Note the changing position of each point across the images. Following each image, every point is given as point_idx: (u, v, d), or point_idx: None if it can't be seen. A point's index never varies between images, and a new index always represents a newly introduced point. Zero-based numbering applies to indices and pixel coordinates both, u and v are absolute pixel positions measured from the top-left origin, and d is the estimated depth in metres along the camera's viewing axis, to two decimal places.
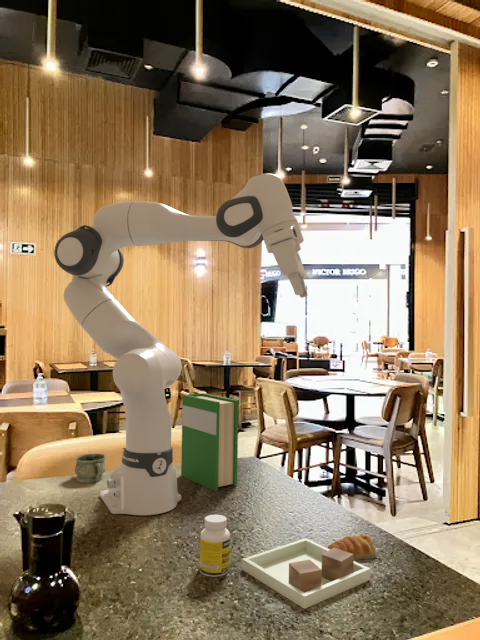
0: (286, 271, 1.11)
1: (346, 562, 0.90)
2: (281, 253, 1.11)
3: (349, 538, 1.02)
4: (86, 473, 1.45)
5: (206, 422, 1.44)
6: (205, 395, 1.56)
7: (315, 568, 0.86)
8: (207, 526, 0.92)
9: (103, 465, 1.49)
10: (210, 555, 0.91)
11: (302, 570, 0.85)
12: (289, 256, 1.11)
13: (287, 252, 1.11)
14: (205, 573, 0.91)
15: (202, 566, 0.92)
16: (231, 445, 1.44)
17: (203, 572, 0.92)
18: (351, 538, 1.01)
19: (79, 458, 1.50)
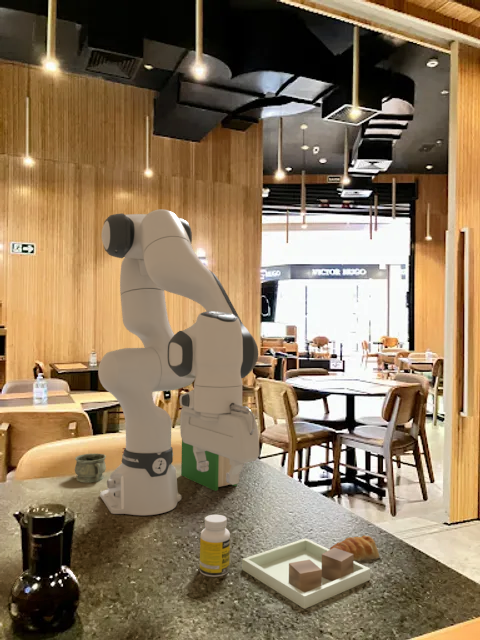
0: None
1: (346, 562, 0.90)
2: None
3: (351, 539, 1.01)
4: (86, 473, 1.45)
5: None
6: None
7: (315, 568, 0.86)
8: (207, 526, 0.92)
9: (103, 465, 1.49)
10: (210, 555, 0.91)
11: (302, 570, 0.85)
12: None
13: None
14: (205, 573, 0.91)
15: (202, 566, 0.92)
16: None
17: (203, 572, 0.92)
18: (353, 539, 1.01)
19: (79, 458, 1.50)
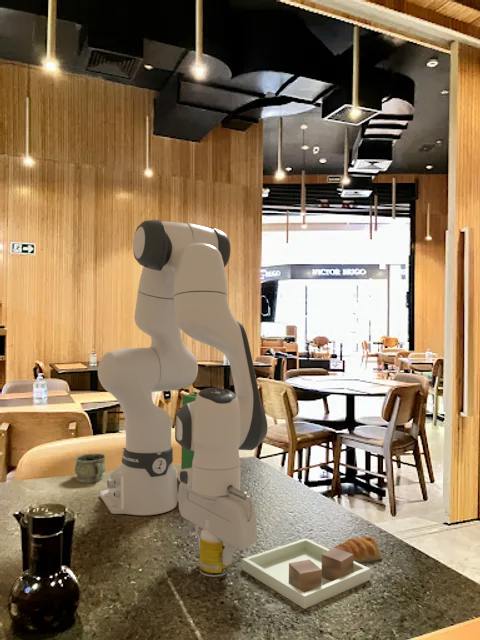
0: None
1: (346, 562, 0.90)
2: None
3: (353, 540, 1.01)
4: (86, 473, 1.45)
5: None
6: None
7: (315, 568, 0.86)
8: (207, 526, 0.92)
9: (103, 465, 1.49)
10: (210, 555, 0.91)
11: (302, 570, 0.85)
12: None
13: None
14: (205, 573, 0.91)
15: (202, 566, 0.92)
16: None
17: (203, 572, 0.92)
18: (355, 540, 1.00)
19: (79, 458, 1.50)
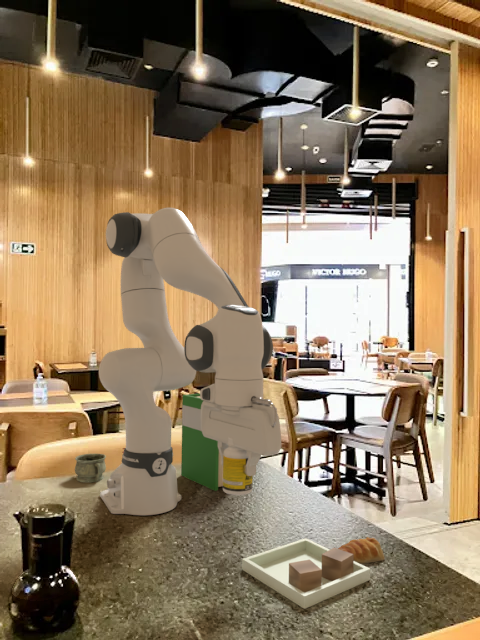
0: None
1: (346, 562, 0.90)
2: None
3: (356, 541, 1.00)
4: (86, 473, 1.45)
5: None
6: None
7: (315, 568, 0.86)
8: (230, 443, 0.92)
9: (103, 465, 1.49)
10: (233, 471, 0.91)
11: (302, 570, 0.85)
12: None
13: None
14: (228, 489, 0.91)
15: (225, 483, 0.92)
16: None
17: (226, 489, 0.92)
18: (358, 541, 1.00)
19: (79, 458, 1.50)
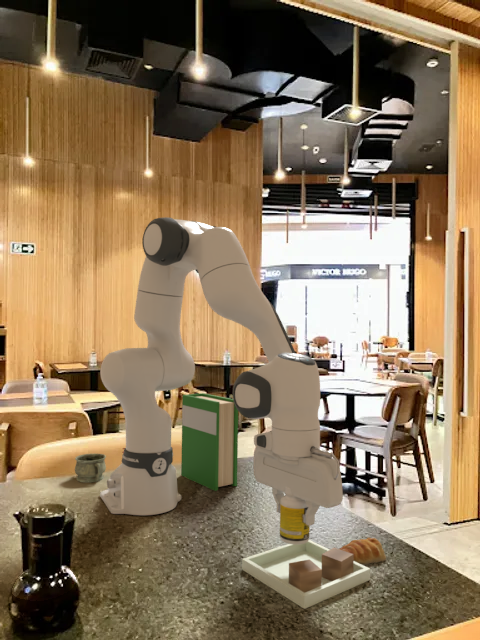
0: None
1: (346, 562, 0.90)
2: None
3: (357, 542, 1.00)
4: (86, 473, 1.45)
5: (206, 422, 1.44)
6: (205, 395, 1.56)
7: (315, 568, 0.86)
8: (288, 493, 0.93)
9: (103, 465, 1.49)
10: (292, 521, 0.92)
11: (302, 570, 0.85)
12: None
13: None
14: (287, 539, 0.92)
15: (283, 533, 0.93)
16: (231, 445, 1.44)
17: (285, 538, 0.92)
18: (359, 542, 1.00)
19: (79, 458, 1.50)
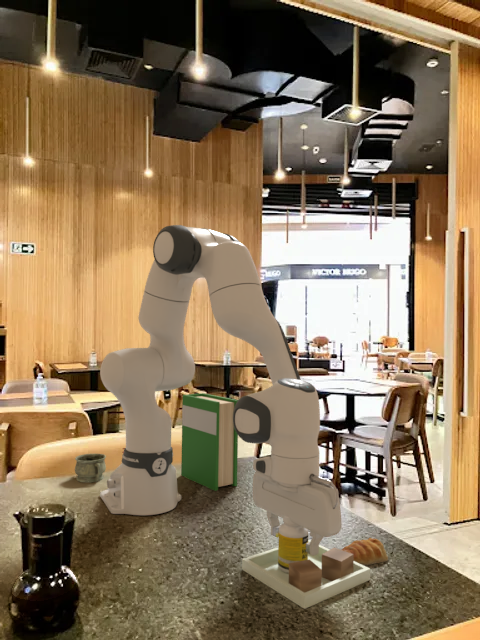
0: None
1: (346, 562, 0.90)
2: None
3: (359, 542, 1.00)
4: (86, 473, 1.45)
5: (206, 422, 1.44)
6: (205, 395, 1.56)
7: (315, 568, 0.86)
8: (286, 522, 0.93)
9: (103, 465, 1.49)
10: (290, 550, 0.92)
11: (302, 570, 0.85)
12: None
13: None
14: (285, 568, 0.92)
15: (282, 562, 0.93)
16: (231, 445, 1.44)
17: (283, 567, 0.92)
18: (361, 542, 0.99)
19: (79, 458, 1.50)
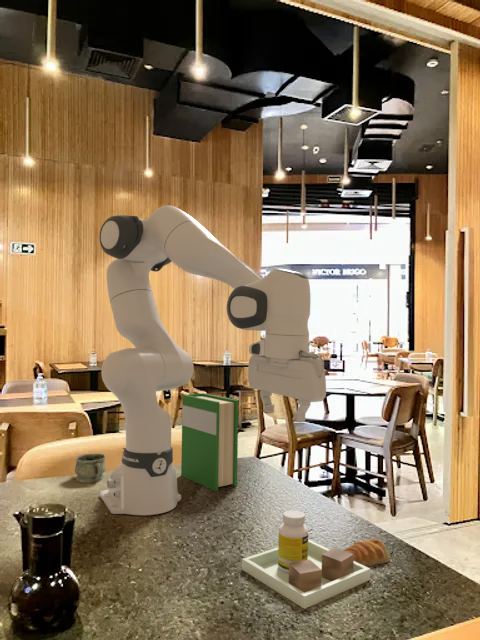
0: None
1: (346, 562, 0.90)
2: None
3: (361, 543, 0.99)
4: (86, 473, 1.45)
5: (206, 422, 1.44)
6: (205, 395, 1.56)
7: (315, 568, 0.86)
8: (286, 522, 0.93)
9: (103, 465, 1.49)
10: (290, 550, 0.92)
11: (302, 570, 0.85)
12: None
13: None
14: (285, 568, 0.92)
15: (282, 562, 0.93)
16: (231, 445, 1.44)
17: (283, 567, 0.92)
18: (363, 543, 0.99)
19: (79, 458, 1.50)
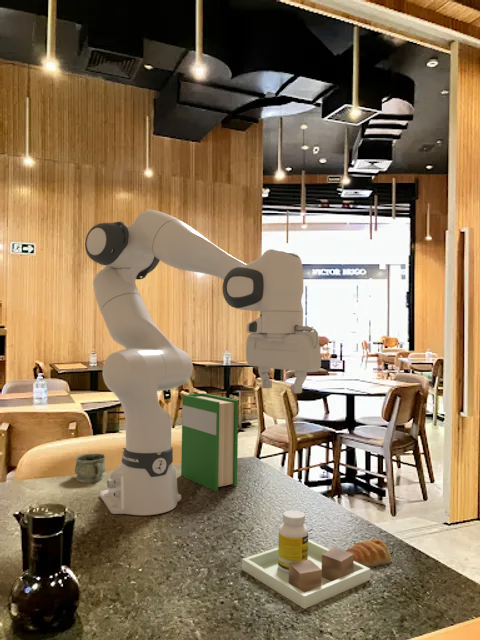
0: None
1: (346, 562, 0.90)
2: None
3: (363, 544, 0.99)
4: (86, 473, 1.45)
5: (206, 422, 1.44)
6: (205, 395, 1.56)
7: (315, 568, 0.86)
8: (286, 522, 0.93)
9: (103, 465, 1.49)
10: (290, 550, 0.92)
11: (302, 570, 0.85)
12: None
13: None
14: (285, 568, 0.92)
15: (282, 562, 0.93)
16: (231, 445, 1.44)
17: (283, 567, 0.92)
18: (365, 544, 0.99)
19: (79, 458, 1.50)
